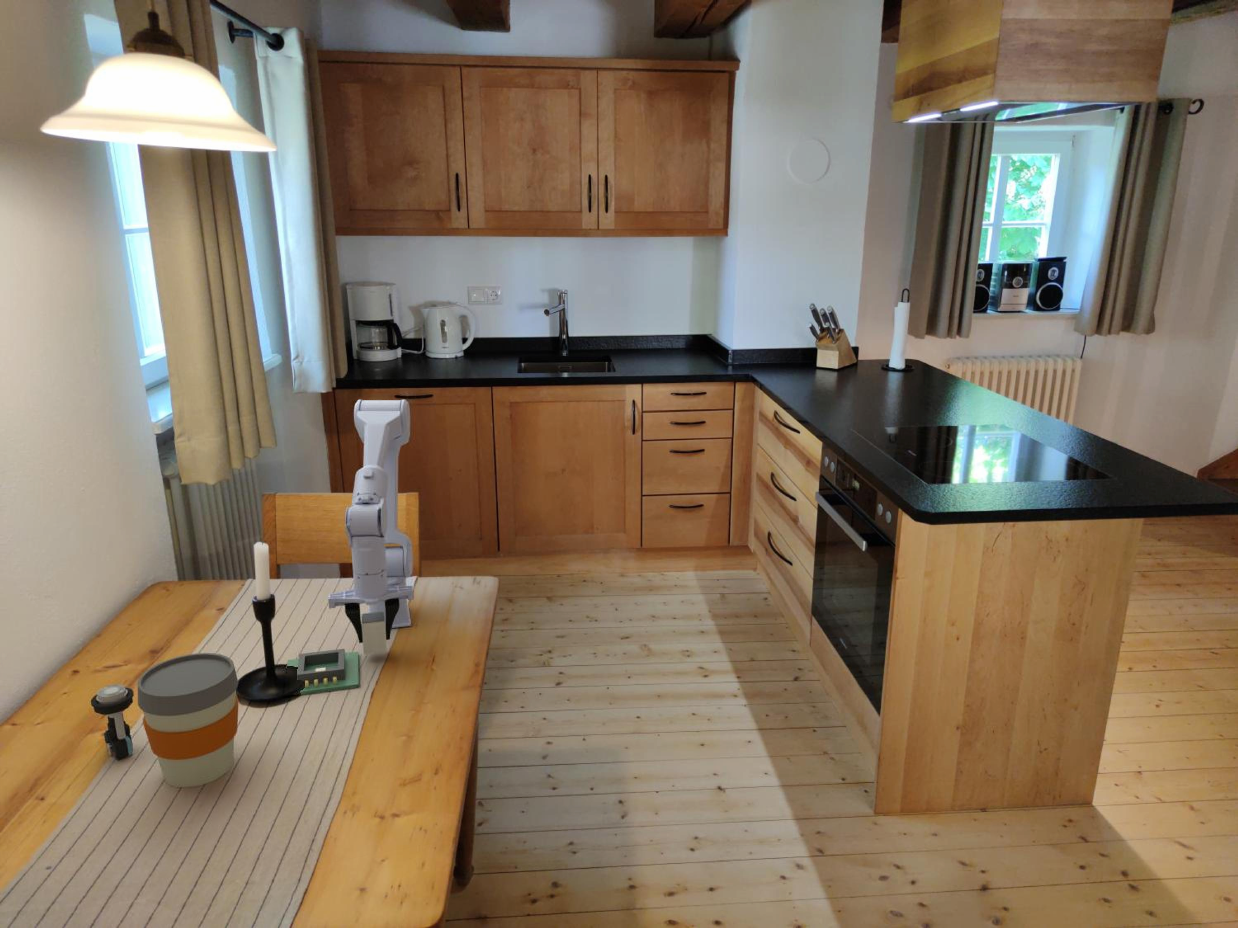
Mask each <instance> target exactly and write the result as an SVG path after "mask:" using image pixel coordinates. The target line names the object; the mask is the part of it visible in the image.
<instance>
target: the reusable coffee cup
mask: <svg viewBox="0 0 1238 928" xmlns="http://www.w3.org/2000/svg"><path fill="white" fill-rule="evenodd" d="M238 685H239V679H238V675H237V672H236V667H235V663H234V660H232V659H231V658H230V657H228V656H227V655H223V654H220V653H216V652H215V653H213V652H211V653H210V652H201V653H200V652H199V653H189V654H185V655H179V656H176V657H173V658H169V659H167V660H163V661H160V662H159V663H157V664H154V665H153V666H152V667H150V668H148V669H147V670H146V671H144V672H143V673H142V674H141V675H140V677H139V678H138V680H137V706H138V707H139V709H140V710H142V712H143V713H142V714H143V718H142V724H143V728H144V731H145V734H146V737H147V739H148V743H149V747H150V749H151V752H152V754H154V755H155V756H156V757H157V760H158V763H159V767H160V770H161V772H162V774H163V778H164V780H165V782H166V783H167V784H168V785H170V786H173V787H177V788H193V787H199V786H203V785H206V784H208V783H211V782H213V781H216V780H218V779H220V778H221V777H222V776H224V775H225V774H226V773H228V772H229V771H230V769H231V768H232V766H233V763H234V753H235V752H234V749H235V747H234V745H235V736H236V734H237V733H238V725H239V722H238V721H239V698H238V696H237V695H236V690H237V688H238Z"/></svg>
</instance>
